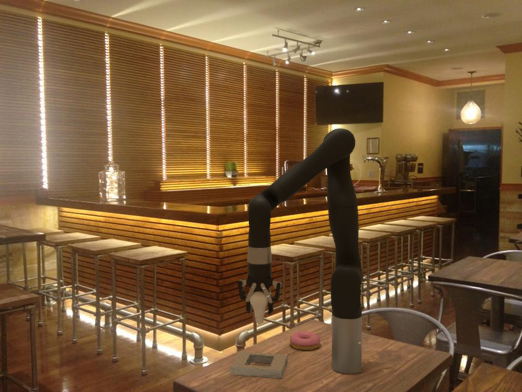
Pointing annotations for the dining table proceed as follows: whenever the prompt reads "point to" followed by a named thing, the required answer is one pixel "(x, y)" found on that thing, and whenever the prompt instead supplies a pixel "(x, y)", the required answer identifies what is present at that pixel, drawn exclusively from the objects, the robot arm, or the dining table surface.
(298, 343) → the doughnut
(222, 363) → the dining table surface
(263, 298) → the lightbulb
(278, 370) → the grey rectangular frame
